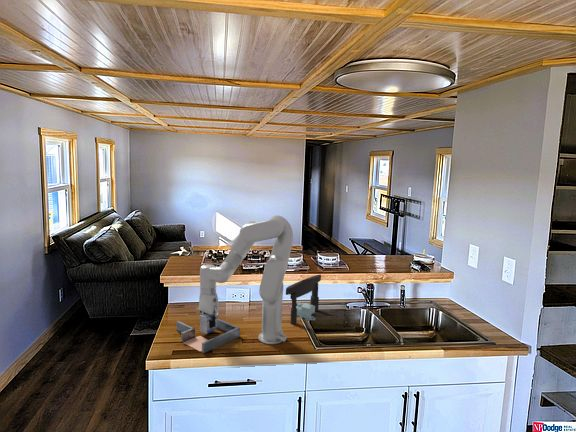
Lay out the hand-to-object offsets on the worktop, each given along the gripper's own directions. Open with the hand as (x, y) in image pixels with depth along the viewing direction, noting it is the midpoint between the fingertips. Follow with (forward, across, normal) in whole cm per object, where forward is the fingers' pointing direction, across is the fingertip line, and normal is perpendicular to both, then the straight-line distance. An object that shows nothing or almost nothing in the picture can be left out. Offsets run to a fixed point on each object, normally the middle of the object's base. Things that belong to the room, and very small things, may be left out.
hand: (208, 325), depth 198 cm
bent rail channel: (+4, 0, +3) cm, 5 cm away
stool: (+5, -21, -49) cm, 53 cm away
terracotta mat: (+4, -6, +10) cm, 12 cm away
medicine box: (+3, 0, 0) cm, 3 cm away
